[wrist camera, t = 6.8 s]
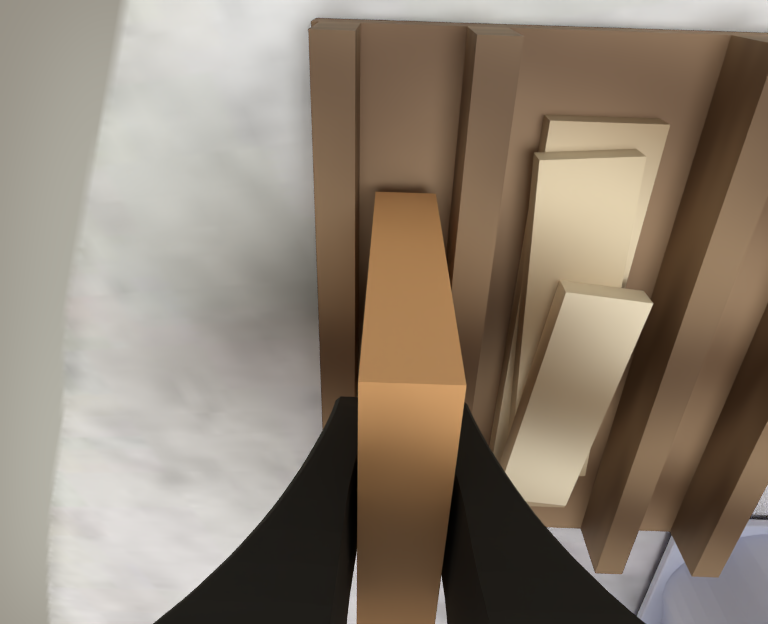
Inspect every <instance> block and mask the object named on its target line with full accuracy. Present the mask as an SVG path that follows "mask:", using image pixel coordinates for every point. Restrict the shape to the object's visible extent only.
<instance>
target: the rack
mask: <svg viewBox="0 0 768 624" xmlns="http://www.w3.org/2000/svg"><path fill="white" fill-rule="evenodd" d="M308 31H309V59H310V87H311V116H312V144H313V172H314V200H315V228H316V256H317V285H318V313H319V341H320V369H321V397H322V425H323V429H324V427H325V425H326V423H327V421H328V418H329V416H330V414H331V412H332V409H333V407H334V404H335V400H336V399H338V398H339V397H340V396H344V397H358V378H359V367H360V356H361V345H362V334H363V323H364V312H365V301H366V291H367V280H368V269H369V258H370V247H371V236H372V225H373V214H374V203H375V192H402V193H431V194H436V198H437V204H438V210H439V217H440V223H441V229H442V235H443V242H444V248H445V254H446V260H447V267H448V273H449V279H450V285H451V292H452V298H453V304H454V310H455V317H456V323H457V329H458V335H459V342H460V348H461V354H462V360H463V367H464V373H465V379H466V385H467V386H466V393H465V401H464V402H465V403H466V404H467V405H468V407H469V409H470V411H471V413H472V415H473V418H474V420H475V422H476V424H477V425H478V427H479V429H480V431H481V433H482V435H483V437H484V438H485V440H486V442H487V444H488V445H490V439H491V433H492V427H493V421H494V415H495V409H496V403H497V397H498V391H499V384H500V378H501V372H502V366H503V360H504V354H505V348H506V342H507V336H508V330H509V324H510V318H511V312H512V306H513V300H514V294H515V288H516V282H517V276H518V270H519V263H520V257H521V251H522V245H523V239H524V233H525V227H526V221H527V215H528V209H529V199H530V188H531V178H532V167H533V156H534V152H538V149H539V142H540V136H541V130H542V124H543V118H544V115H573V116H603V117H633V118H660V119H661V120H663V121H665V122H667V123H668V124H670V128H669V131H668V135H667V138H666V142H665V146H664V149H663V153H662V157H661V160H660V164H659V167H658V171H657V175H656V178H655V182H654V185H653V189H652V193H651V196H650V200H649V204H648V207H647V211H646V214H645V218H644V222H643V225H642V229H641V232H640V236H639V240H638V243H637V247H636V251H635V254H634V258H633V261H632V265H631V269H630V272H629V276H628V279H627V283H626V287H625V289H633V290H641V291H644V292H645V293H646V294H647V296H648V297H649V298H650V300H651V301H652V302H653V306H652V308H651V310H650V313H649V315H648V317H647V319H646V322H645V324H644V326H643V329H642V331H641V333H640V336H639V338H638V340H637V343H636V345H635V347H634V349H633V352H632V354H631V356H630V359H629V361H628V363H627V366H626V368H625V370H624V373H623V375H622V377H621V379H620V382H619V384H618V386H617V389H616V391H615V393H614V396H613V398H612V400H611V402H610V405H609V407H608V409H607V412H606V414H605V416H604V419H603V421H602V423H601V426H600V428H599V430H598V432H597V435H596V437H595V439H594V442H593V444H592V446H591V449H590V453H589V458H588V464H587V469H586V474H585V476H578V479H577V481H576V483H575V486H574V488H573V490H572V492H571V495H570V497H569V499H568V502H567V504H566V506H565V507H540V506H530V508H531V509H532V510H533V512H534V513H535V514H536V515H537V517H538V518H539V519H540V520H541V522H542V523H543V524H544V525H545V526H546V527H556V528H581V531H582V534H583V537H584V540H585V544H586V547H587V550H588V553H589V556H590V559H591V562H592V565H593V568H594V571H595V573H605V574H622V573H623V570H624V568H625V565H626V562H627V560H628V557H629V555H630V552H631V549H632V547H633V544H634V542H635V539H636V536H637V534H638V531H639V530H640V531H668V532H670V533H671V535H672V537H673V539H674V541H675V543H676V545H677V547H678V549H679V551H680V553H681V555H682V558H683V560H684V562H685V564H686V566H687V568H688V570H689V572H690V574H691V576H692V577H716V578H719V576H720V574H721V572H722V570H723V568H724V566H725V564H726V562H727V561H728V559H729V557H730V555H731V553H732V551H733V549H734V547H735V545H736V543H737V542H738V540H739V538H740V536H741V534H742V532H743V530H744V528H745V526H746V524H747V523H748V521H749V519H750V517H751V515H752V513H753V511H754V509H755V507H756V505H757V504H758V502H759V500H760V498H761V496H762V494H763V492H764V490H765V488H766V486H767V485H768V33H755V32H724V31H694V30H663V29H633V28H603V27H572V26H542V25H512V24H481V23H451V22H421V21H390V20H360V19H330V18H315V19H314V20H312V21H311V28H309V29H308Z"/></svg>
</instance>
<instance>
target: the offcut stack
mask: <svg viewBox="0 0 768 624" xmlns="http://www.w3.org/2000/svg"><path fill="white" fill-rule="evenodd" d="M669 128H670V124H668V123H667V122H665V121H663V120H661V119H660V118H633V117H603V116H573V115H544V118H543V124H542V130H541V136H540V142H539V149H538V152H534V156H533V167H532V178H531V188H530V199H529V209H528V215H527V221H526V227H525V233H524V239H523V245H522V251H521V257H520V263H519V270H518V276H517V282H516V288H515V294H514V300H513V306H512V312H511V318H510V324H509V330H508V336H507V342H506V348H505V354H504V360H503V366H502V372H501V378H500V384H499V391H498V397H497V403H496V409H495V415H494V421H493V427H492V433H491V439H490V445H489V447H490V449H491V451H492V452H493V454H494V455H495V457H496V459H497V460H498V462H499V463H500V465H501V466H502V468H503V470H504V471H505V473H506V474H507V476H508V477H509V479H510V480H511V482H512V483H513V485H514V486H515V487H516V489H517V490H518V492H519V493H520V494H521V496H522V497H523V498H524V500H525V501H526V503H527V504H528V505H529V506H540V507H565V506H566V504H567V502H568V499H569V497H570V495H571V492H572V490H573V488H574V486H575V483H576V481H577V479H578V476H585V474H586V469H587V464H588V458H589V453H590V449H591V446H592V444H593V442H594V439H595V437H596V435H597V432H598V430H599V428H600V426H601V423H602V421H603V419H604V416H605V414H606V412H607V409H608V407H609V405H610V402H611V400H612V398H613V396H614V393H615V391H616V389H617V386H618V384H619V382H620V379H621V377H622V375H623V373H624V370H625V368H626V366H627V363H628V361H629V359H630V356H631V354H632V352H633V349H634V347H635V345H636V343H637V340H638V338H639V336H640V333H641V331H642V329H643V326H644V324H645V322H646V319H647V317H648V315H649V313H650V310H651V308H652V306H653V302H652V301H651V300H650V298H649V297H648V296H647V294H646V293H645V292H644V291H641V290H633V289H625V287H626V283H627V279H628V276H629V272H630V269H631V265H632V261H633V258H634V254H635V251H636V247H637V243H638V240H639V236H640V232H641V229H642V225H643V222H644V218H645V214H646V211H647V207H648V204H649V200H650V196H651V193H652V189H653V185H654V182H655V178H656V175H657V171H658V167H659V164H660V160H661V157H662V153H663V149H664V146H665V142H666V138H667V135H668V131H669Z"/></svg>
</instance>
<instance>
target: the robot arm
mask: <svg viewBox="0 0 768 624" xmlns="http://www.w3.org/2000/svg"><path fill="white" fill-rule="evenodd" d="M357 488H358V397H344V396H340V397H339V398H338V399H336V400H335V404H334V407H333V409H332V412H331V414H330V416H329V418H328V421H327V423H326V425H325V427H324V429H323V431H322V433H321V434H320V436H319V438H318V440H317V442H316V443H315V445H314V447H313V449H312V450H311V452H310V454H309V455H308V457H307V459H306V460H305V462H304V464H303V465H302V467H301V468H300V470H299V471H298V473H297V474H296V476H295V477H294V479H293V480H292V482H291V483H290V484H289V486H288V487H287V489H286V490H285V492H284V493H283V494H282V496H281V497H280V498H279V500H278V501H277V502H276V504H275V505H274V506H273V508H272V509H271V510H270V511H269V512H268V514H267V515H266V516H265V517H264V519H263V520H262V521H261V522H260V523H259V525H258V526H257V527H256V528H255V529H254V530H253V531H252V532H251V534H250V535H249V536H248V537H247V538H246V539H245V540H244V541H243V542H242V544H241V545H240V546H239V547H238V548H237V549H236V550H235V551H234V552H233V553H232V554H231V555H230V556H229V557H228V558H227V559H226V560H225V561H224V562H223V563H222V564H221V565H220V566H219V567H218V568H217V569H216V570H215V571H214V572H213V573H211V574H210V575H209V576H208V577H207V578H206V579H205V580H204V581H203V582H202V583H201V584H200V585H199V586H198V587H197V588H196V589H194V590H193V591H192V592H191V593H190V594H189V595H188V596H186V597H185V598H184V599H183V600H182V601H180V602H179V603H178V604H177V605H176V606H174V607H173V608H172V609H171V610H169V611H168V612H167V613H166V614H164V615H163V616H162V617H161V618H160V619H158V620H157V621H156V622H155V623H153V624H347V614H348V606H349V597H350V590H351V584H352V578H353V571H354V565H355V558H356V552H357ZM441 575H442V582H443V589H444V595H445V604H446V613H447V624H768V520H756V519H749V521H748V523H747V524H746V526H745V528H744V530H743V532H742V534H741V536H740V538H739V540H738V542H737V543H736V545H735V547H734V549H733V551H732V553H731V555H730V557H729V559H728V561H727V562H726V564H725V566H724V568H723V570H722V572H721V574H720V576H719V578H716V577H692V576H691V574H690V572H689V570H688V568H687V566H686V564H685V562H684V560H683V558H682V555H681V553H680V551H679V549H678V547H677V545H676V543H675V541H674V539H673V537H672V536H671V538H670V540H669V543H668V545H667V547H666V550H665V552H664V554H663V556H662V559H661V561H660V563H659V566H658V568H657V570H656V573H655V575H654V577H653V580H652V582H651V584H650V587H649V589H648V591H647V593H646V596H645V598H644V600H643V603H642V605H641V607H640V610H639V612H638V614H637V616H636V615H634V614H633V613H632V612H631V611H630V610H628V609H627V608H626V607H625V606H624V605H623V604H622V603H620V602H619V601H618V600H617V599H616V598H615V597H614V596H612V595H611V594H610V593H609V592H608V591H607V590H606V589H605V588H604V587H603V586H602V585H601V584H600V583H599V582H598V581H597V580H596V579H595V578H594V577H593V576H592V575H591V574H590V573H589V572H588V571H587V570H586V569H584V568H583V567H582V566H581V565H580V564H579V563H578V562H577V561H576V560H575V559H574V558H573V557H572V556H571V555H570V553H569V552H568V551H567V550H566V549H565V548H564V547H563V546H562V545H561V544H560V542H559V541H558V540H557V539H556V538H555V537H554V536H553V535H552V533H551V532H550V531H549V530H548V529H547V528H546V526H545V525H544V524H543V523H542V522H541V520H540V519H539V518H538V517H537V515H536V514H535V513H534V512H533V510H532V509H531V508H530V506H529V505H528V504H527V503H526V501H525V500H524V498H523V497H522V496H521V494H520V493H519V492H518V490H517V489H516V487H515V486H514V485H513V483H512V482H511V480H510V479H509V477H508V476H507V474H506V473H505V471H504V470H503V468H502V466H501V465H500V463H499V462H498V460H497V459H496V457H495V455H494V454H493V452H492V451H491V449H490V447H489V445H488V444H487V442H486V440H485V438H484V437H483V435H482V433H481V431H480V429H479V427H478V425H477V424H476V422H475V420H474V418H473V415H472V413H471V411H470V409H469V407H468V405H467V404H466V403H465V402H464V408H463V416H462V423H461V431H460V438H459V446H458V453H457V461H456V468H455V476H454V483H453V491H452V498H451V506H450V513H449V521H448V528H447V536H446V543H445V551H444V558H443V566H442V574H441Z"/></svg>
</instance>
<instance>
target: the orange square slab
mask: <svg viewBox="0 0 768 624" xmlns="http://www.w3.org/2000/svg"><path fill="white" fill-rule="evenodd" d="M466 386H467V385H466V379H465V373H464V367H463V360H462V354H461V348H460V342H459V335H458V329H457V323H456V317H455V310H454V304H453V298H452V292H451V285H450V279H449V273H448V267H447V260H446V254H445V248H444V242H443V235H442V229H441V223H440V217H439V210H438V204H437V198H436V194H431V193H402V192H375V203H374V214H373V225H372V236H371V247H370V258H369V269H368V280H367V291H366V301H365V312H364V323H363V334H362V345H361V356H360V367H359V378H358V488H357V624H435V619H436V611H437V604H438V596H439V589H440V581H441V574H442V566H443V558H444V551H445V543H446V536H447V528H448V521H449V513H450V506H451V498H452V491H453V483H454V476H455V468H456V461H457V453H458V446H459V438H460V431H461V423H462V416H463V408H464V401H465V393H466Z"/></svg>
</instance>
